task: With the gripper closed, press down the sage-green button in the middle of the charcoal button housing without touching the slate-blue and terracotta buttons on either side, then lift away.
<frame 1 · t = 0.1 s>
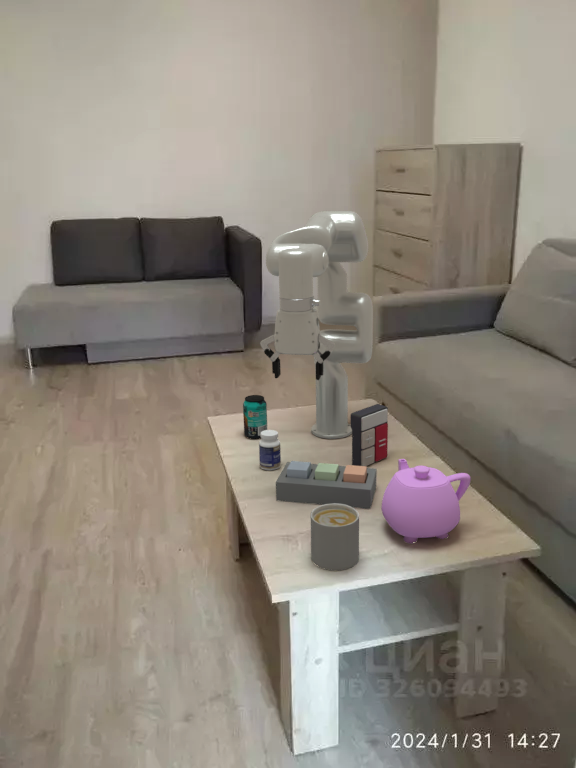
hand: (297, 377, 164), 31 cm above the table, tool pointing down, fingers open, 9 cm apart
slate button: (299, 474, 176), point 4 cm above the table, slide at 0.0 cm
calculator: (369, 462, 193), on the table
teapot: (422, 525, 160), on the table
coffee mug: (332, 554, 150), on the table
teal supplement jar: (256, 436, 214), on the table
sage button: (326, 477, 174), point 4 cm above the table, slide at 0.0 cm
terracotta button: (355, 479, 173), point 4 cm above the table, slide at 0.0 cm
button housing: (327, 493, 176), on the table
pill bottle: (270, 467, 192), on the table
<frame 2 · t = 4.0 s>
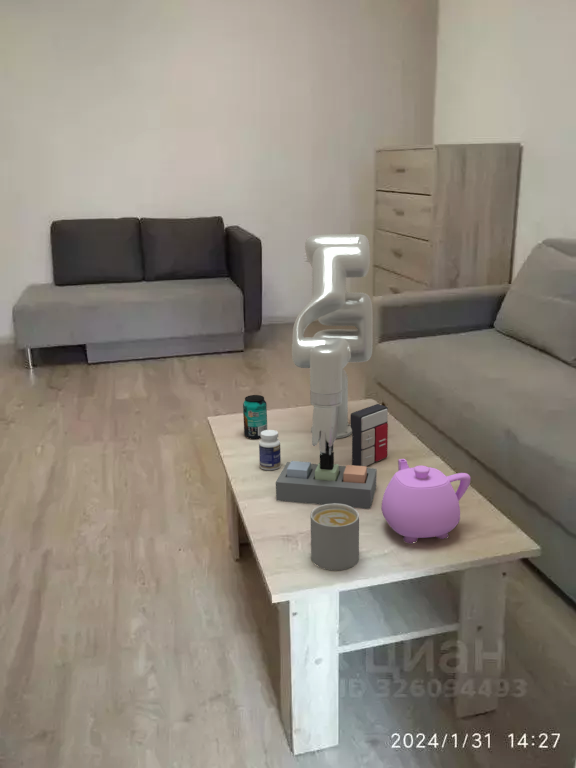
hand: (326, 468, 173), 7 cm above the table, tool pointing down, fingers closed
sage button: (326, 477, 174), point 4 cm above the table, slide at 0.0 cm, touching gripper
everything else where it was.
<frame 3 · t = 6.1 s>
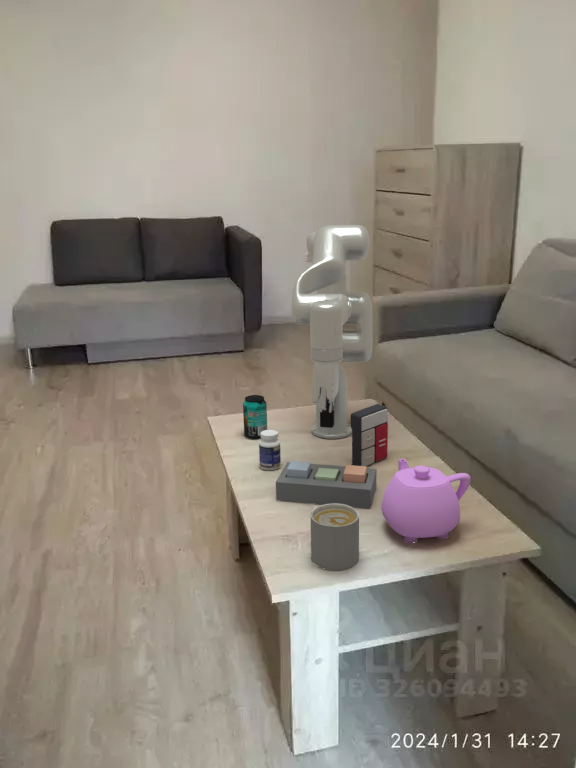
hand: (327, 426, 171), 17 cm above the table, tool pointing down, fingers closed
sage button: (327, 482, 175), point 3 cm above the table, slide at 1.3 cm
everything else where it was.
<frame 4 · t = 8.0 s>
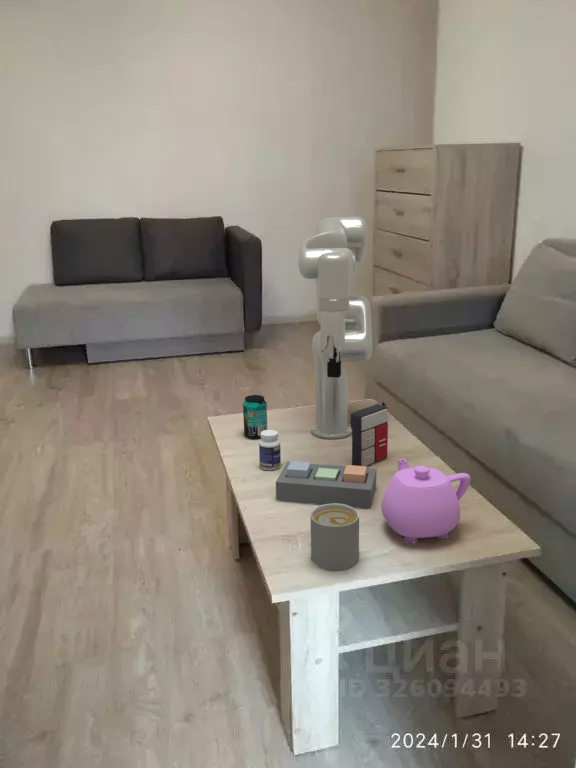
hand: (334, 376, 178), 27 cm above the table, tool pointing down, fingers closed
nothing on the table moved.
at the end: sage button slide at 1.3 cm; slate button slide at 0.0 cm; terracotta button slide at 0.0 cm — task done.
